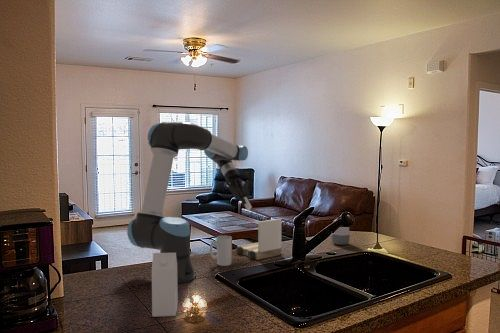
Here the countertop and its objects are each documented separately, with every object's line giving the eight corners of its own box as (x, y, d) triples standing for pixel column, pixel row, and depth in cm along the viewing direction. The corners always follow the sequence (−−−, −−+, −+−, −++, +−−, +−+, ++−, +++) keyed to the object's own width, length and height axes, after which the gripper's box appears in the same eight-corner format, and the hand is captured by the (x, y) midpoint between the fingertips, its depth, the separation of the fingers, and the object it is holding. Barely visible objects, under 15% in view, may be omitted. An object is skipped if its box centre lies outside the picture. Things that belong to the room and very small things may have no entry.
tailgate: (257, 253, 187) (257, 221, 186) (280, 248, 195) (280, 218, 194) (259, 253, 186) (259, 222, 185) (281, 249, 194) (281, 218, 193)
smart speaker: (328, 242, 220) (329, 216, 219) (344, 241, 222) (344, 216, 221) (336, 246, 211) (336, 220, 210) (352, 245, 213) (353, 219, 212)
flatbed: (234, 252, 199) (234, 245, 199) (262, 247, 209) (262, 240, 209) (254, 260, 186) (254, 252, 186) (282, 254, 197) (282, 246, 196)
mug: (229, 261, 185) (228, 234, 184) (234, 265, 179) (234, 238, 178) (207, 263, 181) (207, 236, 181) (211, 267, 175) (211, 240, 174)
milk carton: (155, 307, 132) (154, 250, 131) (177, 307, 133) (177, 249, 132) (152, 317, 125) (151, 256, 124) (175, 316, 126) (174, 255, 125)
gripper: (237, 177, 222) (256, 211, 210) (217, 178, 214) (235, 214, 202) (243, 168, 217) (263, 202, 205) (222, 169, 209) (242, 205, 197)
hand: (249, 208), depth 203 cm, fingers closed
